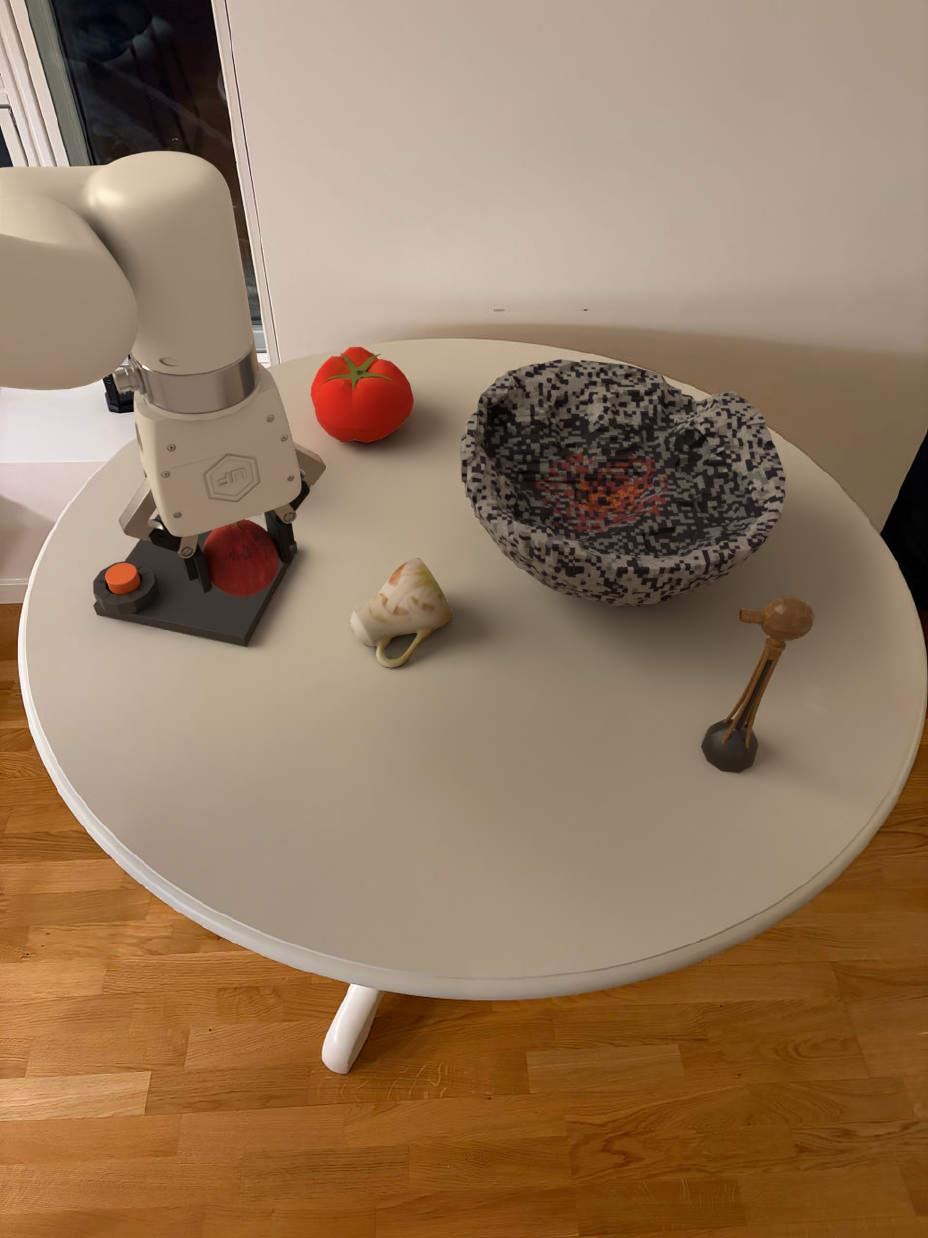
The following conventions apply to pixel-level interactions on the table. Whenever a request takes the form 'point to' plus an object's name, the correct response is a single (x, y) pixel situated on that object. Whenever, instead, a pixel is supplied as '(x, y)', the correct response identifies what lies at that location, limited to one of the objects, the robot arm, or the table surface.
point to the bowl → (619, 480)
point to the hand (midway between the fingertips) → (241, 564)
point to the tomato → (360, 396)
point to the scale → (183, 598)
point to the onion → (241, 558)
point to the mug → (402, 611)
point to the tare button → (122, 578)
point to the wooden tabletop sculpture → (756, 683)
